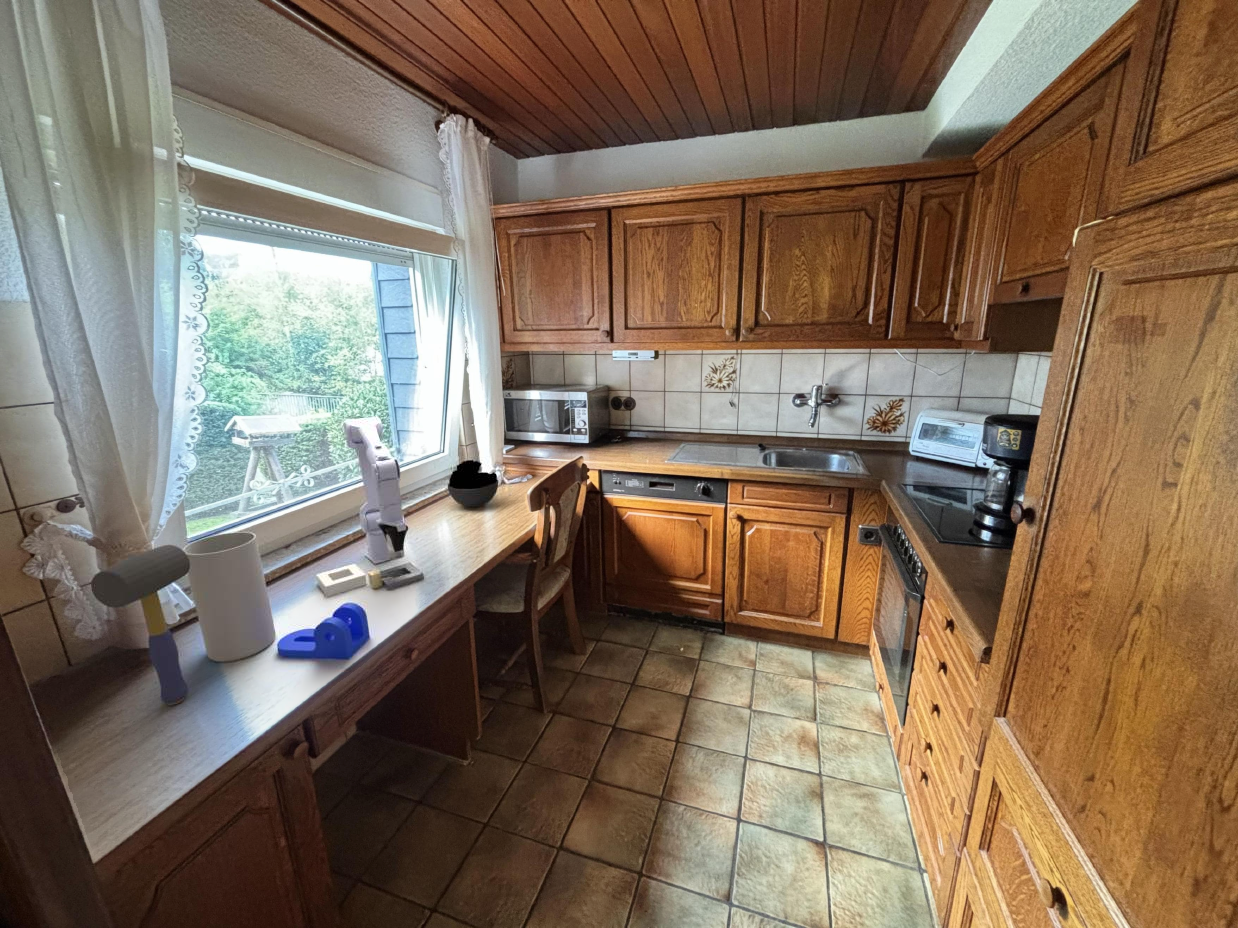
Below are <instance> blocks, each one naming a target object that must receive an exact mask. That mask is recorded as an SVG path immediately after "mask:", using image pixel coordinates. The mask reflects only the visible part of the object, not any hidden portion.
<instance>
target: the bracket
mask: <svg viewBox="0 0 1238 928" xmlns="http://www.w3.org/2000/svg"><path fill="white" fill-rule="evenodd" d="M370 635H371V634H370V629H369V623H368V614H367V613H366V611H365V609H364V608H363V607H362V606H361V605H359V604H357V603H355V602H345V603H342V604H341V605H340V606H339V607H337V608H336V609H335V610H334V611H333V613H332V616H331V617H326V618H325V619H324V620H322V621H321V622H320V623H319V624H317V625H316V627H315V628H303V629H302V628H301V629H299V630H295V631H292V632H290V633H288V634H286V635H284V636H283V637H281V638H280V639H279V640H278V641H277V644H276V646H277V652H278V655H279V656H280V657H282V658H286V659H288V658H290V659H311V660H312V659H314V660H315V659H316V660H318V659H319V660H342V661H344V660H345V661H346V660H347V661H349V660H350V659H351V658H352V657H353V656H354V655H355V654H356V653H357V652H358V651H359V650H360V649H361V648H362V647H363V646H364V644H365V643H366V642H368V640H370V638H371V636H370Z"/></svg>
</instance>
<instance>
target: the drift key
mask: <svg viewBox="0 0 1238 928" xmlns="http://www.w3.org/2000/svg"><path fill="white" fill-rule="evenodd" d="M380 571H381V570H378V569H377V568H376V569H373V570H370V571H368V572H367V574H368V581H369V586H370V587H371V588H372V589H373V590H374V589H377V588H381V587H384V586H383V582H382V580H383V579H386V578H389V576H388V577H385V578H381V572H380Z"/></svg>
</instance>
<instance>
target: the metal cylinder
mask: <svg viewBox="0 0 1238 928" xmlns="http://www.w3.org/2000/svg"><path fill="white" fill-rule="evenodd" d="M386 537H387V545H388V552H389V558H390V559H391V560H394V561H395V560H400V559H402V558H404V557H405V548H404V547H403V550H401V551H398V552H395V551H394V549H393V545H392V542H391V539H390V537H389V535H388V533H387V534H386Z"/></svg>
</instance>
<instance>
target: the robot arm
mask: <svg viewBox="0 0 1238 928" xmlns="http://www.w3.org/2000/svg"><path fill="white" fill-rule="evenodd" d="M343 432H344V436H345V440H346V445H347V446H348V448H349V449H352V450H354V451H355V453H356V455H357V458H358V463H359V467H360V468H359V469H360V473H361V478H362V483H363V488H364V493H365V496H366V501H365V503H363V504H362V506H361V507H360V508H359V511H358V514H359V523H360V527H361V530H362V532H364V533H365V534H366V535H365V540H366V546H367V553H365V555H364V557H366V558H367V559H369V560H370V561H371V562H372V563H373V564H374V565H376V564H380V563H384V562H388V561H390V560H392V559H390V558H389V552H388V545H387V537H386V534H387V533H388V535H389V537H390V539H391V542H392V545H393V549H394V551H395V552H398V551H401V550H403V547H404V545H405V538H406V535H407V532H408V531H409V526H408V525H406V522H405V517H404V513H403V505H402V498H401V491H400V482H399V479H400V478H401V467H400V464H399V461H398V458H396V457H394V456H393V457H392V455H391V453H390V451H389V449H388V447H387V446H386V445H385V444H383V443H381V441H382V436H383V433H384V431H383V424H382V420H381V419H380V418H379V417H378V416H374V417H365V418H356V419H355V418H354V419H345V420H344V421H343Z"/></svg>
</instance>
